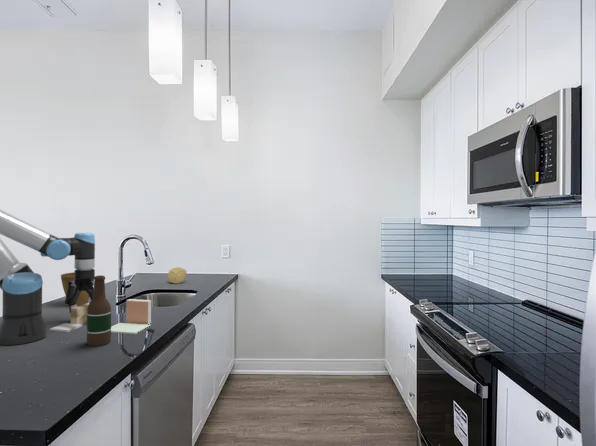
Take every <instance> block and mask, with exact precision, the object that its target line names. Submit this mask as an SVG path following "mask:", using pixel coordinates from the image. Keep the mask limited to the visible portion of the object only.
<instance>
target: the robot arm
mask: <svg viewBox="0 0 596 446" xmlns="http://www.w3.org/2000/svg"><path fill="white" fill-rule="evenodd" d="M0 235H1V236H3V237H6V238H8V239H10V240H12V241H15V242H17V243H19V244H21V245H23V246H25V247H28V248H30V249H32V250H34V251H36V252H39V255H40V256H41V257H44V258H45V257H48V258H50V259H52V260H54V261H62V260H65V259H66V258H67V257H68V256H70V257H71V256H74V264H73V266H74V267H73V268H74V278H75V281H70V282H68V291H67V295H65V300H64V304H65V305H68V307H69V309H68V310H69V311H68V312H69V314H71V308H74V307H78V306H77V305H74V304H75V303H76V301H77V299H78V297H79V295H80V293H81V291H86V292H87V293H88V294H89V299H90V301H91V300H92V299H93V294H94V282H95V280H94V277H95V276H96V275H95V273H96V270H95V266H96V265H95V262H96V261H95V260H96V259H95V258H96V257H95V256H96V255H95V253H96V251H95V250H96V239H95V234H94V232H93V233H92V232H76V233H75V234H74V236H73V237H58V236H55V235H53V234H51V233H49V232H47V231H45V230H43V229H41V228H39V227H37V226H35V225H33V224H31V223H29V222H26V221H25V220H22V219H20V218H19V217H16V216H14V215H12V214H11V213H7V212H6V211H4V210H1V209H0ZM43 282H44V281H43V277H42V275H41V274H40V273H37V272H36V273H35V272H34V271H33V269H32V268H31V267H30V266H29V265H28V264H27V263H26V262H20V261H19V260H18V259H17V257H16V256H15V255H14V253H13V252H12V251H11V249H9V247H8V246H7V245H6V243H4V241H3V240H2V239H1V238H0V289H1V291H2V316H1V317H2V319H1V323H0V345H2V346H15V345H22V344H28V343H33V342H37V341H40V340H43V339H44V338H46V337H47V336H48V327H47V326H46V324H45V319H44V318H43V285H44V284H43ZM75 285H76V286H77V287H76V289H75ZM74 289H75V292H74ZM90 289H91V290H90ZM73 293H74V294H73Z"/></svg>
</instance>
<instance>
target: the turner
mask: <svg viewBox="0 0 596 446" xmlns="http://www.w3.org/2000/svg"><path fill="white" fill-rule="evenodd" d="M89 303H90V302H87V304H84V305H81V306H77V307H74V308H71V313H70V323H63V324H59V325H56V326H54V327H51V328H49V332H61V333H63V332H64V333H69V332H71V331H74V330H76V329H79V328H82V327H83V324H85V323H86V324H87V308H88V305H89Z"/></svg>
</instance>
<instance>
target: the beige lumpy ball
mask: <svg viewBox="0 0 596 446" xmlns="http://www.w3.org/2000/svg"><path fill="white" fill-rule="evenodd" d="M187 273H188V272H187V270H186V269H185V268H182V267H178V266H177V267H173V268H172V269H169V271H168V273H167V281H168V282H169V283H172V284H177V285H178V284H182V283H184V281H185V279H186V277H187V275H188V274H187Z"/></svg>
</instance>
